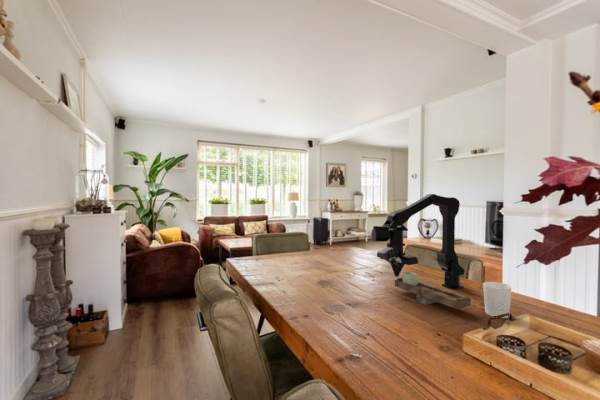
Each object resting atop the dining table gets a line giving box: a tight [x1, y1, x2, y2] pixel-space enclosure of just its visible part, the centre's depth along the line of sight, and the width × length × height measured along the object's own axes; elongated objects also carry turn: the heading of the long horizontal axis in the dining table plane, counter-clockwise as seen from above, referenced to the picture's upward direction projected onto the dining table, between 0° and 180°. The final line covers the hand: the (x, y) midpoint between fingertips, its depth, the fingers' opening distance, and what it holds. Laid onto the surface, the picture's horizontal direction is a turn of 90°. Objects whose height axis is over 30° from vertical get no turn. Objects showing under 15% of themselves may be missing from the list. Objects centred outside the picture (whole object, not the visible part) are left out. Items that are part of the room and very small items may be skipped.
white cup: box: [482, 281, 512, 319], centre depth 95 cm, size 8×8×10 cm
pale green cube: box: [401, 271, 419, 286], centre depth 116 cm, size 4×4×4 cm
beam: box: [394, 277, 472, 310], centre depth 108 cm, size 28×9×6 cm, turn 27°
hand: (396, 276), depth 123 cm, fingers closed
